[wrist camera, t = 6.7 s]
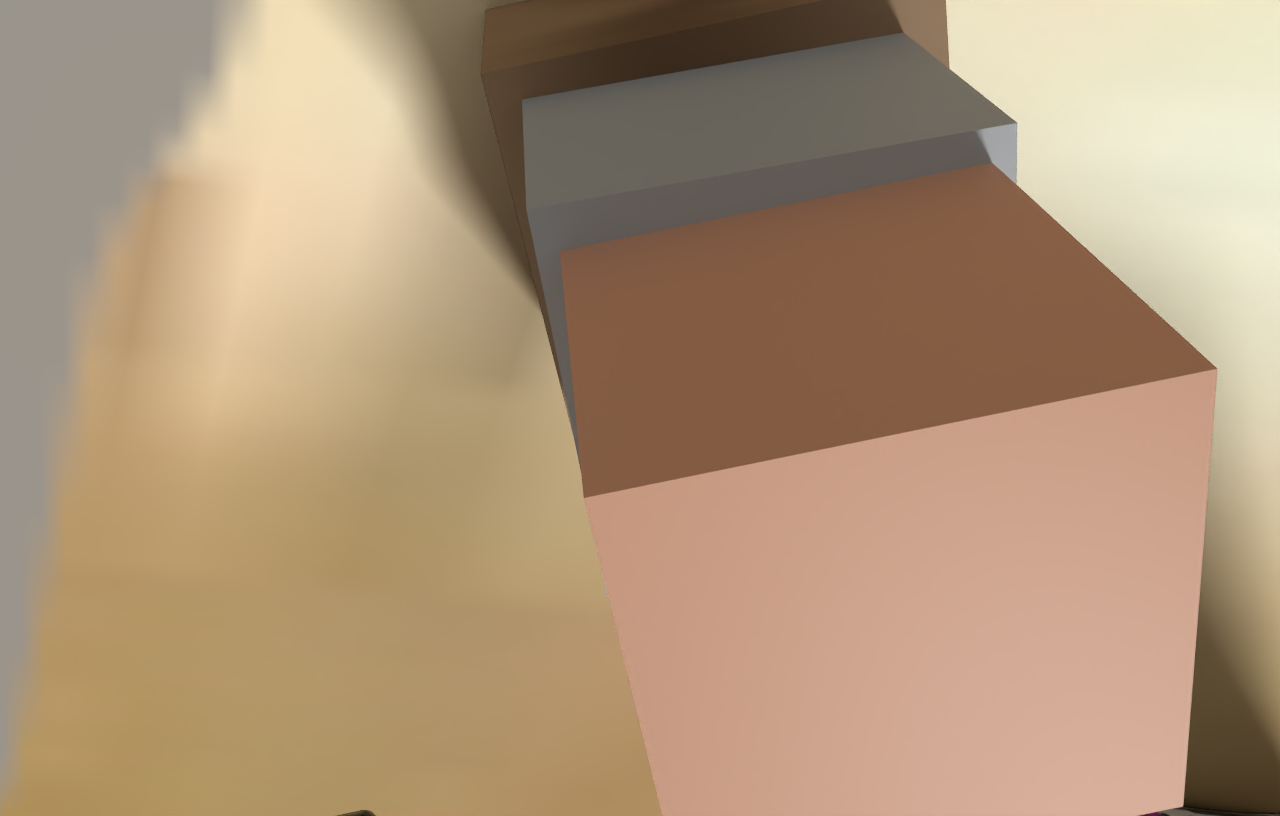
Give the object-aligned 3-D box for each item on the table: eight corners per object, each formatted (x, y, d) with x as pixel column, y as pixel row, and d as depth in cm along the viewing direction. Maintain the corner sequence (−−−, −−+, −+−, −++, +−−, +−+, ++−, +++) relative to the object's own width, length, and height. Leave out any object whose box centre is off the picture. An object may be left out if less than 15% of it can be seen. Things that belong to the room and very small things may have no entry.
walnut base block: (863, -74, 19) (944, -26, 15) (893, 273, 22) (966, 379, 18) (486, 8, 19) (481, 73, 15) (568, 342, 22) (579, 461, 18)
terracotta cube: (992, 161, 12) (1217, 369, 8) (1002, 514, 14) (1183, 806, 11) (559, 251, 12) (584, 498, 8) (638, 589, 15) (685, 906, 11)
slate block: (903, 32, 15) (1017, 123, 12) (915, 368, 18) (1012, 522, 15) (521, 99, 15) (527, 209, 12) (587, 426, 18) (606, 595, 15)
